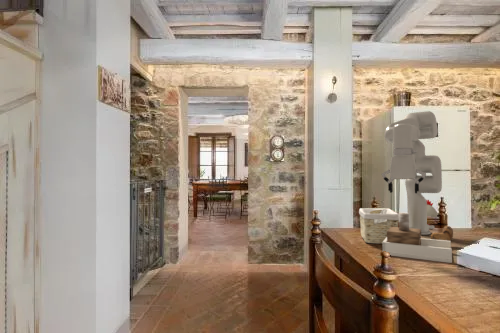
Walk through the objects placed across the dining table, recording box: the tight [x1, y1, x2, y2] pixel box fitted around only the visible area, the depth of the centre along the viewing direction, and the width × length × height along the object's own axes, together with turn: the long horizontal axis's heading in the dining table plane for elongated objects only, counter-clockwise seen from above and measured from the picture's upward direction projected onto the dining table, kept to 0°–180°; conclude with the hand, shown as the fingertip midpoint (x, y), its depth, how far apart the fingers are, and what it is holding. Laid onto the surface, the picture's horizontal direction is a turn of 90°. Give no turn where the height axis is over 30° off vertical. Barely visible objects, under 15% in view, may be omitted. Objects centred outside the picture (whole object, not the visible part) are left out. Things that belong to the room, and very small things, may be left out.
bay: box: [382, 237, 453, 264], centre depth 133 cm, size 25×17×5 cm
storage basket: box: [358, 207, 399, 245], centre depth 161 cm, size 24×16×15 cm
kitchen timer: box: [426, 199, 439, 217], centre depth 206 cm, size 14×14×15 cm
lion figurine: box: [429, 225, 454, 241], centre depth 144 cm, size 15×5×9 cm, turn 116°
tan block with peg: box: [387, 212, 422, 245], centre depth 136 cm, size 12×12×15 cm
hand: (403, 192), depth 136 cm, fingers open, 9 cm apart
